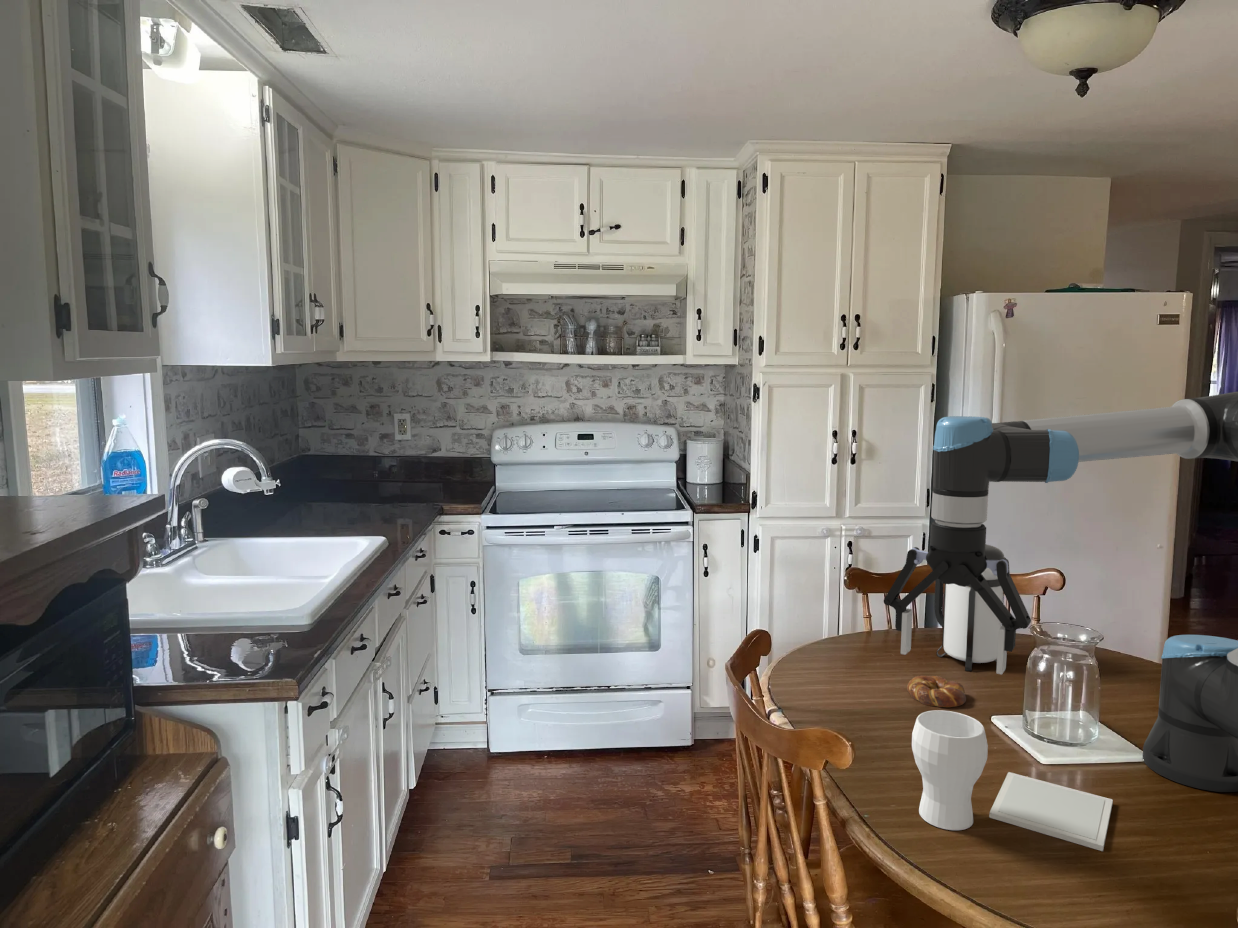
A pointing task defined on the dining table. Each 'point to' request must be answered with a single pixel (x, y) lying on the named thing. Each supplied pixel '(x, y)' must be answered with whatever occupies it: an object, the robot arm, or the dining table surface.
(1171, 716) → the robot arm
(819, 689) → the dining table surface
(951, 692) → the brown braided bread ring
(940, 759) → the cup
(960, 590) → the coffee press
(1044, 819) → the coaster
